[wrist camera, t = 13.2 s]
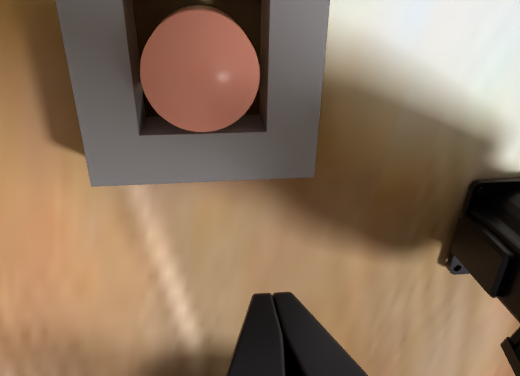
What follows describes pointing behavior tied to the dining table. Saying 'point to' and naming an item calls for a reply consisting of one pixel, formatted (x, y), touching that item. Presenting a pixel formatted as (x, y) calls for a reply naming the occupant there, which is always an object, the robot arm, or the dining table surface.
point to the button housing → (180, 140)
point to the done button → (199, 69)
